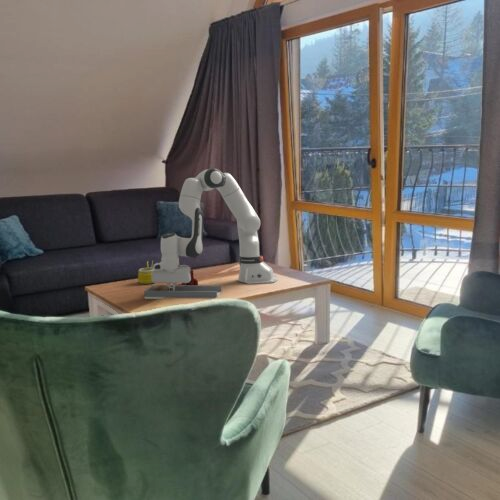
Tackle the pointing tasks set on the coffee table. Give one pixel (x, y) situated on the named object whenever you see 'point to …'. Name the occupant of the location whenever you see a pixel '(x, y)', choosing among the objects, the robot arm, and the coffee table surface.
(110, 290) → the coffee table surface
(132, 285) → the coffee table surface
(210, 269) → the coffee table surface
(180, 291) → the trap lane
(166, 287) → the walnut block
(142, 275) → the mug
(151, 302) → the coffee table surface
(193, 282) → the red wheeled piece
